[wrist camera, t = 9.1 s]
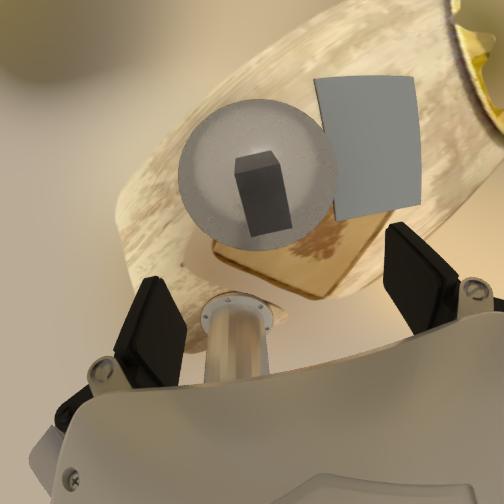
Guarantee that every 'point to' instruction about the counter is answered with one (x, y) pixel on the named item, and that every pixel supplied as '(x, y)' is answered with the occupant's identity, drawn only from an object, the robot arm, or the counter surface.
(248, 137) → the lid
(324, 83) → the mat
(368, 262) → the counter surface
